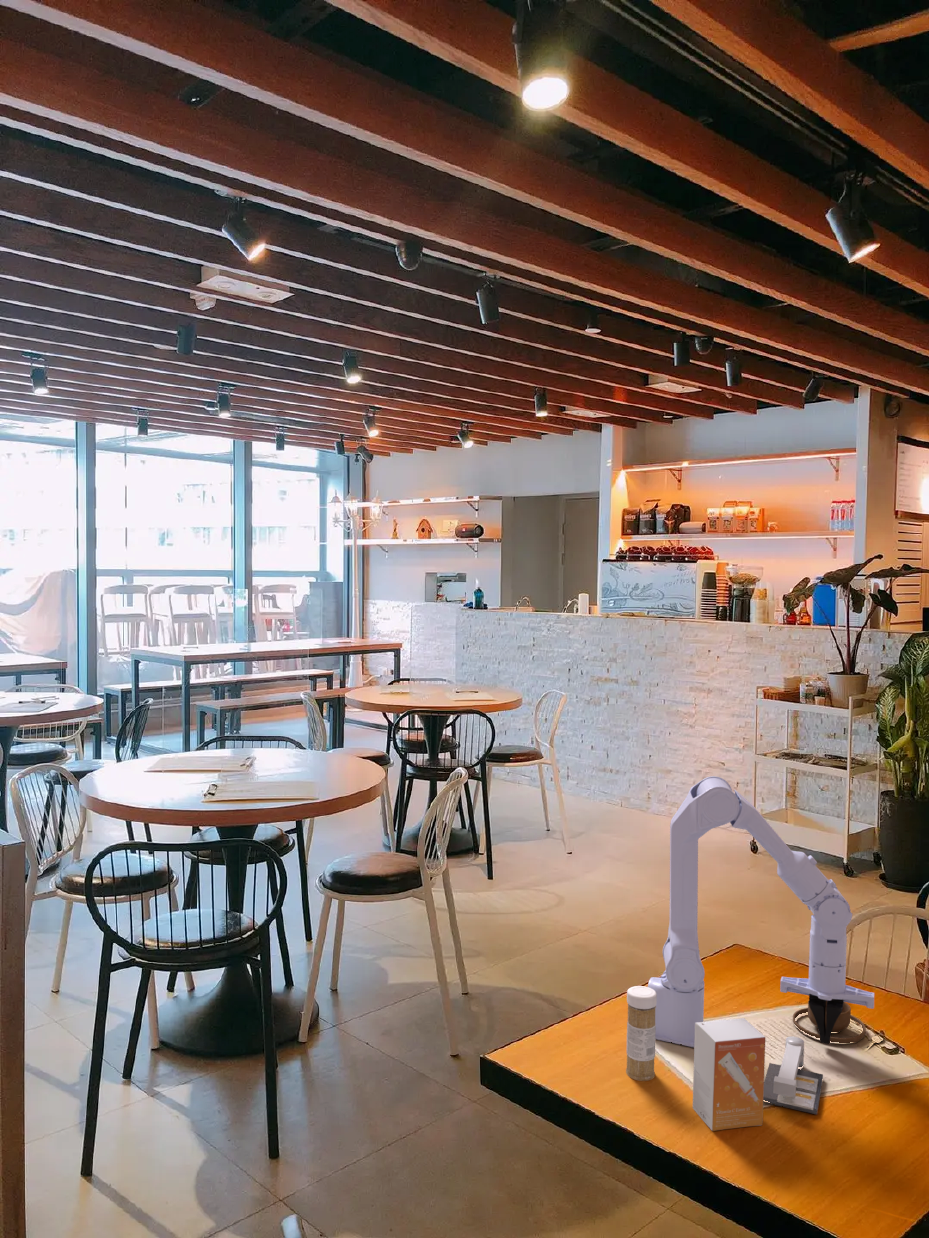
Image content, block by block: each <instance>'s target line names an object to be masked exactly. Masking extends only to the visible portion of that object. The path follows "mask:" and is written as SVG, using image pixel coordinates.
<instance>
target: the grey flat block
mask: <svg viewBox="0 0 929 1238" xmlns="http://www.w3.org/2000/svg"><path fill="white" fill-rule="evenodd" d="M804 1058H805V1053H804V1054H803V1055H801V1058H800V1062H799V1067H802V1066H803V1065H804ZM804 1066H805V1065H804ZM804 1066H803V1067H804ZM780 1068H781V1064H776V1063H771V1062H769V1064H768V1067H767V1071H766V1074H765V1076H764V1096H763V1100H765V1101H768V1102H770V1103H772V1104H771V1105H773V1104H775V1105H774V1106H778V1107H782V1106H783V1108H787V1109H791V1110H795V1111H800V1112H804V1113H808V1114H814V1115H816V1116H817V1115H818V1110H819V1104H820V1098H821V1092H822V1088H821V1086H822V1087H823V1082H822V1079H823V1080H824V1074H823V1073H819V1072H813V1071H810V1070H804V1069H801V1070H800V1069H798V1071H797V1076H796V1095H795V1098H793V1097H789V1096H784V1095H780V1094H775V1093H773V1088H774V1078H775V1076H777V1077H778V1075H779V1071H780Z"/></svg>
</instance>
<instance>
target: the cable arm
mask: <svg viewBox="0 0 929 1238" xmlns="http://www.w3.org/2000/svg"><path fill="white" fill-rule="evenodd" d="M803 1054H804V1055H805V1041H804V1039H803V1038H800V1037H799V1036H798V1037H797V1036H793V1035H792V1036H787V1037H786V1038H785V1049H784V1053H783V1057H782V1060H781V1064H780V1065H781V1068H780V1071H779V1075H778V1077H777V1076H775V1078H774V1088H773V1093H775V1094H780V1095H784V1096H789V1097H793V1098H795V1095H796V1076H797V1071H798V1067H799V1062H800V1058H801V1055H803Z"/></svg>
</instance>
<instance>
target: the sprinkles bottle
mask: <svg viewBox="0 0 929 1238" xmlns="http://www.w3.org/2000/svg"><path fill="white" fill-rule="evenodd" d="M626 1002H627V1021H626V1024H627V1025H626V1026H627V1027H626V1068H625V1073H626V1074H625V1075H627V1076H628V1077H629V1078H630V1079H633V1080H635V1081H639V1082H646V1081H648V1082H649V1081H651V1080H653V1079H654V1078H655V1075H656V1074H655V1058H656V1039H655V1033H656V1024H655V1008H656V1004H657V994H656V992H655V991H654V990H653V989H651V988H649V987H648V986H645V985H644V986H642V985H635V986H630V987H629V988H628V989H627V991H626Z"/></svg>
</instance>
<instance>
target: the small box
mask: <svg viewBox="0 0 929 1238" xmlns="http://www.w3.org/2000/svg"><path fill="white" fill-rule="evenodd" d="M693 1048H694V1049H693V1054H694V1055H693V1075H692V1077H693V1078H692V1079H693V1080H692V1082H693V1083H692V1084H693V1085H692V1109H693V1111H694V1112H695V1113H696V1114H697V1115H698V1117H699V1118H700V1119H701V1120H702V1121H703V1122H704V1123H705V1125H706V1126H707V1127H708V1128H709V1129H710V1130H711V1132H715V1131H720V1130H721V1131H722V1130H730V1129H737V1128H739V1129H740V1128H745V1127H747V1128H748V1127H758V1126H763V1121H764V1118H763V1117H764V1102H763V1096H764V1081H765V1065H766V1064H765V1063H766V1060H765V1059H766V1036H765V1035H764V1034H763V1033H762V1032H761V1031H759V1030H758V1029H757V1028H756V1027H755V1026H754V1025H753V1024H751V1022H750V1021H748V1020H747V1019H746V1018H745V1017H742V1018H741V1017H740V1018H739V1017H738V1018H729V1019H726V1018H725V1019H715V1020H708V1021H703V1022H696V1023H695V1043H694V1047H693Z"/></svg>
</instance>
